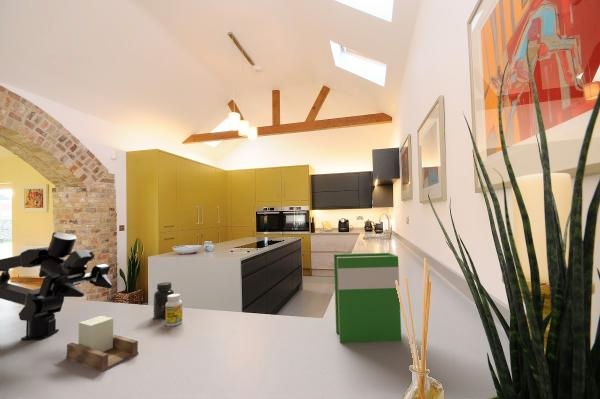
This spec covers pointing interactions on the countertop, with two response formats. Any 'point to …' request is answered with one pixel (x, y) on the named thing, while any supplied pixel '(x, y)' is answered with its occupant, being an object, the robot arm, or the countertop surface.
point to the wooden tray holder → (103, 353)
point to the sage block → (96, 333)
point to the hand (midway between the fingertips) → (98, 290)
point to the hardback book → (367, 297)
